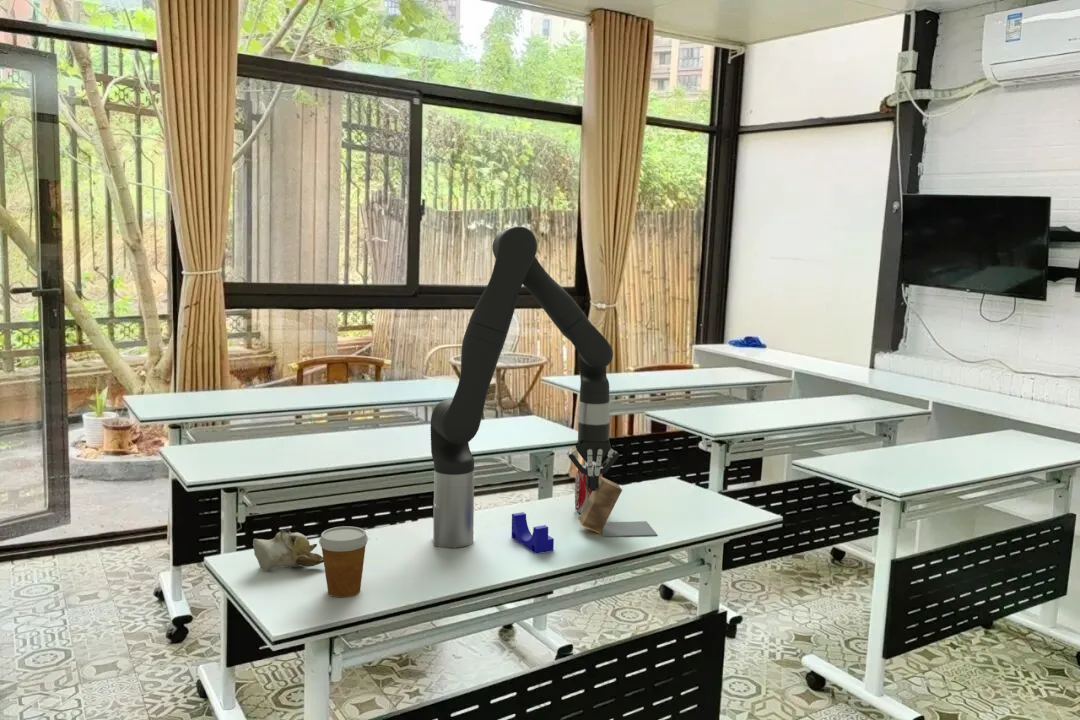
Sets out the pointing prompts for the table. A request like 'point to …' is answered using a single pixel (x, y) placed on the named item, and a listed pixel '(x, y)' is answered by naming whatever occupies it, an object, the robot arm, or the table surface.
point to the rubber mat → (627, 529)
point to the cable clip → (531, 535)
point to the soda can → (581, 490)
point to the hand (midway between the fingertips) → (592, 489)
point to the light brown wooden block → (600, 505)
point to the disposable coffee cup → (343, 559)
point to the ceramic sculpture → (285, 551)
